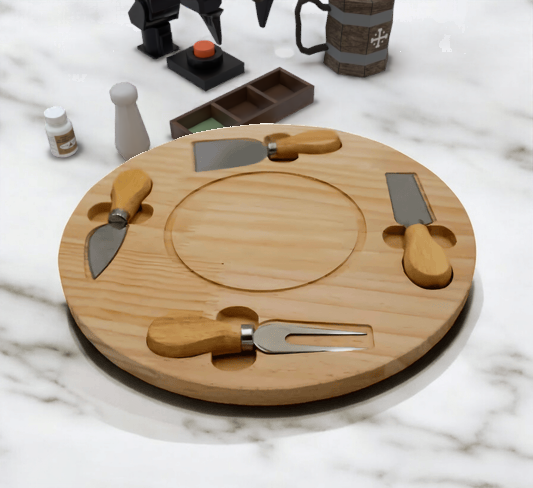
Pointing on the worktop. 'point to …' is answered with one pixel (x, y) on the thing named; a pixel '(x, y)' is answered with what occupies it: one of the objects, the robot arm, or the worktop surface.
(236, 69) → the control block
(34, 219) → the worktop surface
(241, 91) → the brown compartment tray
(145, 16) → the robot arm
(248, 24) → the worktop surface
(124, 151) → the salt shaker
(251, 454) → the worktop surface
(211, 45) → the button
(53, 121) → the pill bottle
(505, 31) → the worktop surface
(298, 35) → the mug
